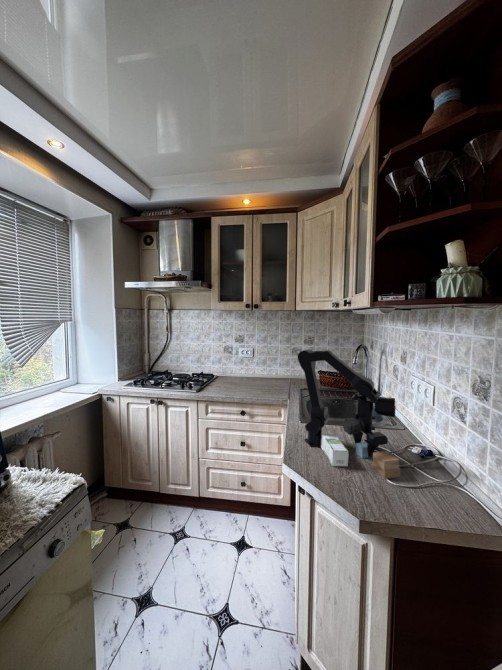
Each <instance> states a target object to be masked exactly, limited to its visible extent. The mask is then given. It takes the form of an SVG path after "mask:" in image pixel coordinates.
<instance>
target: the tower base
mask: <svg viewBox="0 0 502 670" xmlns="http://www.w3.org/2000/svg"><path fill="white" fill-rule="evenodd" d="M371 463H372V465H371V467H372V469H371V470H373V471H374V472H375V473H376V474H378V475H379V476H380V477H382V478H383V479H384V480H387V479H388V480H389V479H395V478H400V477H401V468H400V467H399V468H398V469H390V470H383V469H382V468H381V467H379V466H378V465H377V464H376V463H374V462H373V460H372V462H371Z"/></svg>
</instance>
